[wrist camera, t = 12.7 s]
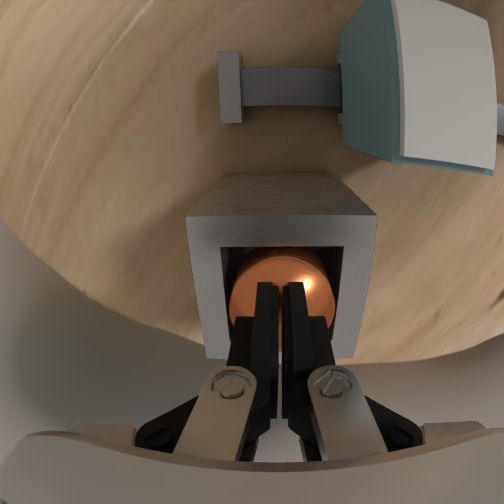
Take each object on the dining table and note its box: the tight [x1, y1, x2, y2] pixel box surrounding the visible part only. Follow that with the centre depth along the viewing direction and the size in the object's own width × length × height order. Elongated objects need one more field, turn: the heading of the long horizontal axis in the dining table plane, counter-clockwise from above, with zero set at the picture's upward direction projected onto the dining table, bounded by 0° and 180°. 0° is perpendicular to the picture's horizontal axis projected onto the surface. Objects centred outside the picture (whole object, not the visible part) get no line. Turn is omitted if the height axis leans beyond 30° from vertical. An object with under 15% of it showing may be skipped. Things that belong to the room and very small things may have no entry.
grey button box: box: [185, 172, 377, 360], centre depth 16 cm, size 7×7×9 cm
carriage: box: [336, 0, 497, 176], centre depth 11 cm, size 5×7×9 cm
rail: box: [217, 50, 504, 137], centre depth 14 cm, size 27×4×2 cm, turn 92°
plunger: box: [229, 246, 335, 351], centre depth 15 cm, size 4×4×8 cm
